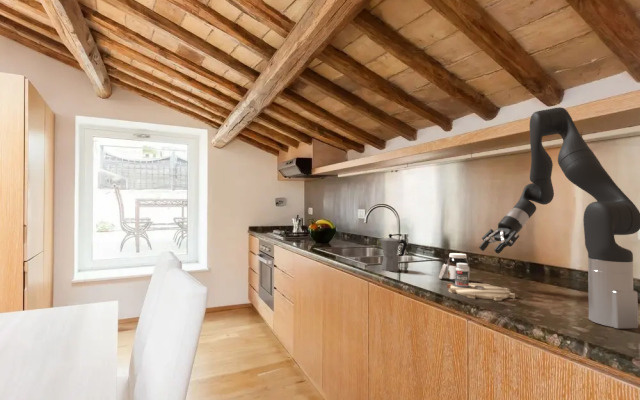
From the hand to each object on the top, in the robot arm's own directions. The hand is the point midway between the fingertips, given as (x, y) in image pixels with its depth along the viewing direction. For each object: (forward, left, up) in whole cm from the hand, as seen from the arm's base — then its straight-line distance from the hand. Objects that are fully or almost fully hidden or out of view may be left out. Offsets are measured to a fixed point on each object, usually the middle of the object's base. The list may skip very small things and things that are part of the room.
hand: (488, 250), depth 128 cm
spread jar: (+14, +7, -15) cm, 22 cm away
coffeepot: (+39, +26, -15) cm, 50 cm away
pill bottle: (-1, +11, -14) cm, 18 cm away
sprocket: (-6, +7, -15) cm, 17 cm away
